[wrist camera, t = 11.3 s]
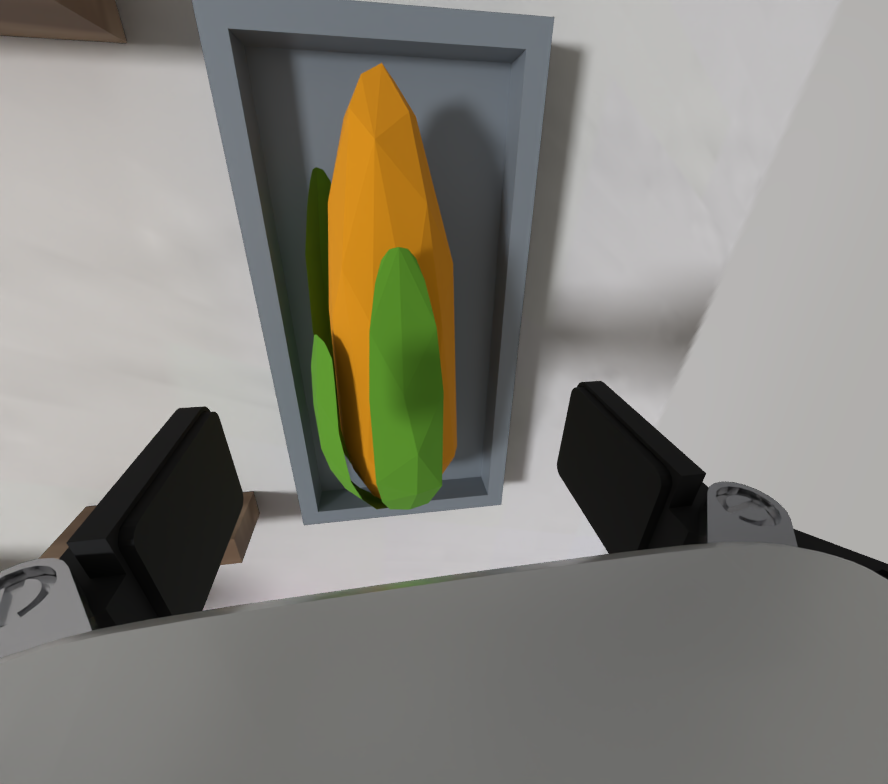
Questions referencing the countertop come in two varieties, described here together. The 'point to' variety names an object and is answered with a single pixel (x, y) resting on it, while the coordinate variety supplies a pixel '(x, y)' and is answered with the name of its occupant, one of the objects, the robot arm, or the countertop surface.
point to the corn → (382, 305)
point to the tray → (453, 175)
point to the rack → (97, 19)
